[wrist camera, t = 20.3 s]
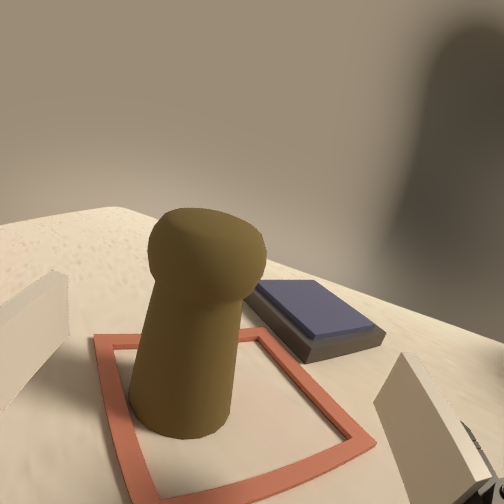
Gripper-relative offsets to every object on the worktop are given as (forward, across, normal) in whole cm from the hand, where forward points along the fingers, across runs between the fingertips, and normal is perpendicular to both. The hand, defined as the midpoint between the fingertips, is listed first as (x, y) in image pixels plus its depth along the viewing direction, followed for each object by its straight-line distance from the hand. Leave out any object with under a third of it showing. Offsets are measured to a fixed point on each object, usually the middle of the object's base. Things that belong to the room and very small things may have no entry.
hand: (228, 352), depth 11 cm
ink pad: (+18, +8, -7) cm, 21 cm away
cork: (+4, -2, -7) cm, 9 cm away
